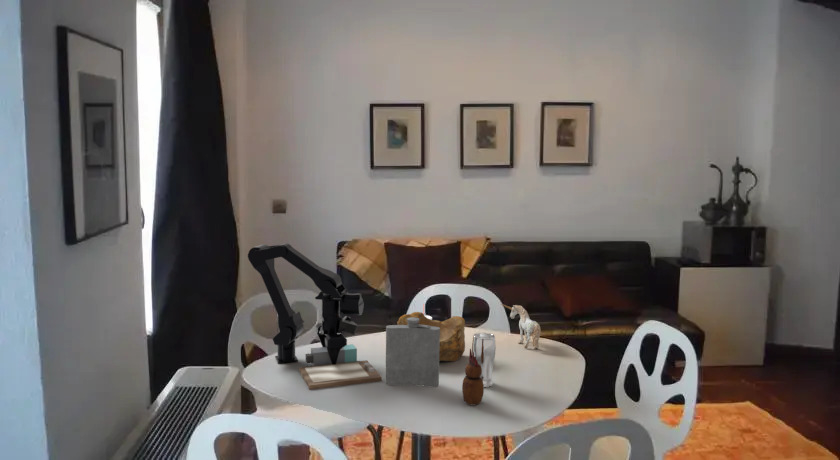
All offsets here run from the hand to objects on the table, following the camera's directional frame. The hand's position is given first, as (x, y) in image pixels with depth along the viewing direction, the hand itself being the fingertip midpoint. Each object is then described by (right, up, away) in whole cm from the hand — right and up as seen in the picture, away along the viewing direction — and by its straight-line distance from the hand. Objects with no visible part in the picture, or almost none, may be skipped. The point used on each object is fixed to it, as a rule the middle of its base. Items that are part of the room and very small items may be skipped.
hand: (330, 359), depth 215 cm
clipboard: (+4, -3, -11) cm, 12 cm away
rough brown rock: (+32, -1, +5) cm, 33 cm away
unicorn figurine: (+64, +1, +22) cm, 68 cm away
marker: (+1, -1, +1) cm, 2 cm away
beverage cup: (+30, +1, +25) cm, 39 cm away
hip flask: (+27, -4, -16) cm, 31 cm away
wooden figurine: (+44, -6, -30) cm, 53 cm away
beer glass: (+48, -4, -16) cm, 50 cm away
